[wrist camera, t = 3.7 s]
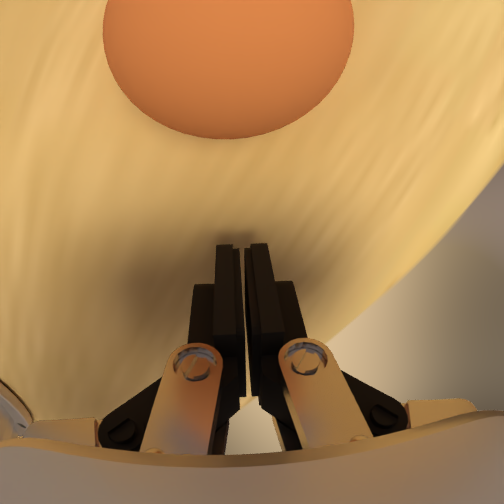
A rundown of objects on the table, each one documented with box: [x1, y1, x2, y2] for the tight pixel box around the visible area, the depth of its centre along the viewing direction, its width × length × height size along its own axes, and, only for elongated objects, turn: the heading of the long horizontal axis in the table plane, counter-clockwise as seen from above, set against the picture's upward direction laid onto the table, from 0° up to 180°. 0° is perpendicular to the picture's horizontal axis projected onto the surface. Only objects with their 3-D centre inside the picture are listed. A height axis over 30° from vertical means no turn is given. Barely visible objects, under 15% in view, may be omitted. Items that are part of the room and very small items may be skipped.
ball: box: [103, 0, 354, 139], centre depth 6 cm, size 6×6×6 cm
